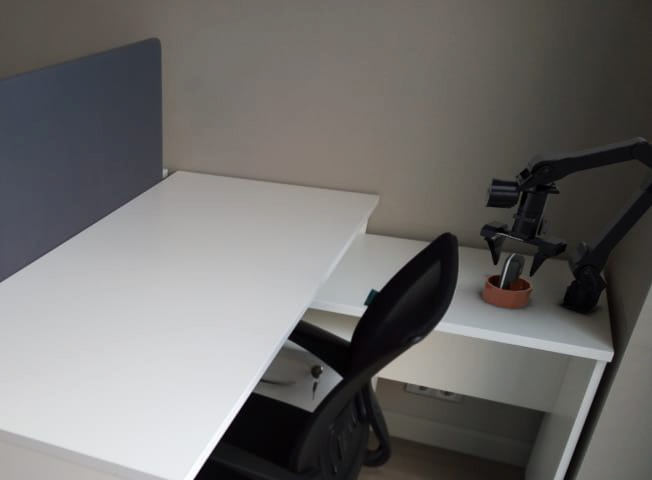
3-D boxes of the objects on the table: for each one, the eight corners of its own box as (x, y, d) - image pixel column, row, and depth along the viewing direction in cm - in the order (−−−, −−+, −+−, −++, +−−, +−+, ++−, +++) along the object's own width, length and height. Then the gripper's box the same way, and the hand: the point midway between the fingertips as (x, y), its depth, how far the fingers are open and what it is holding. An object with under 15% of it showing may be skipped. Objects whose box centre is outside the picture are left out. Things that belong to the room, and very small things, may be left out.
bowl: (535, 300, 184) (540, 283, 182) (513, 312, 179) (518, 295, 177) (495, 286, 192) (500, 270, 189) (473, 297, 186) (477, 281, 184)
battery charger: (508, 305, 182) (521, 263, 176) (492, 301, 184) (504, 259, 178) (515, 295, 187) (528, 254, 180) (500, 292, 189) (512, 250, 182)
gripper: (587, 212, 170) (566, 273, 179) (510, 193, 183) (494, 251, 191) (564, 223, 165) (543, 286, 173) (486, 202, 177) (471, 262, 186)
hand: (512, 270), depth 181 cm, fingers open, 9 cm apart
